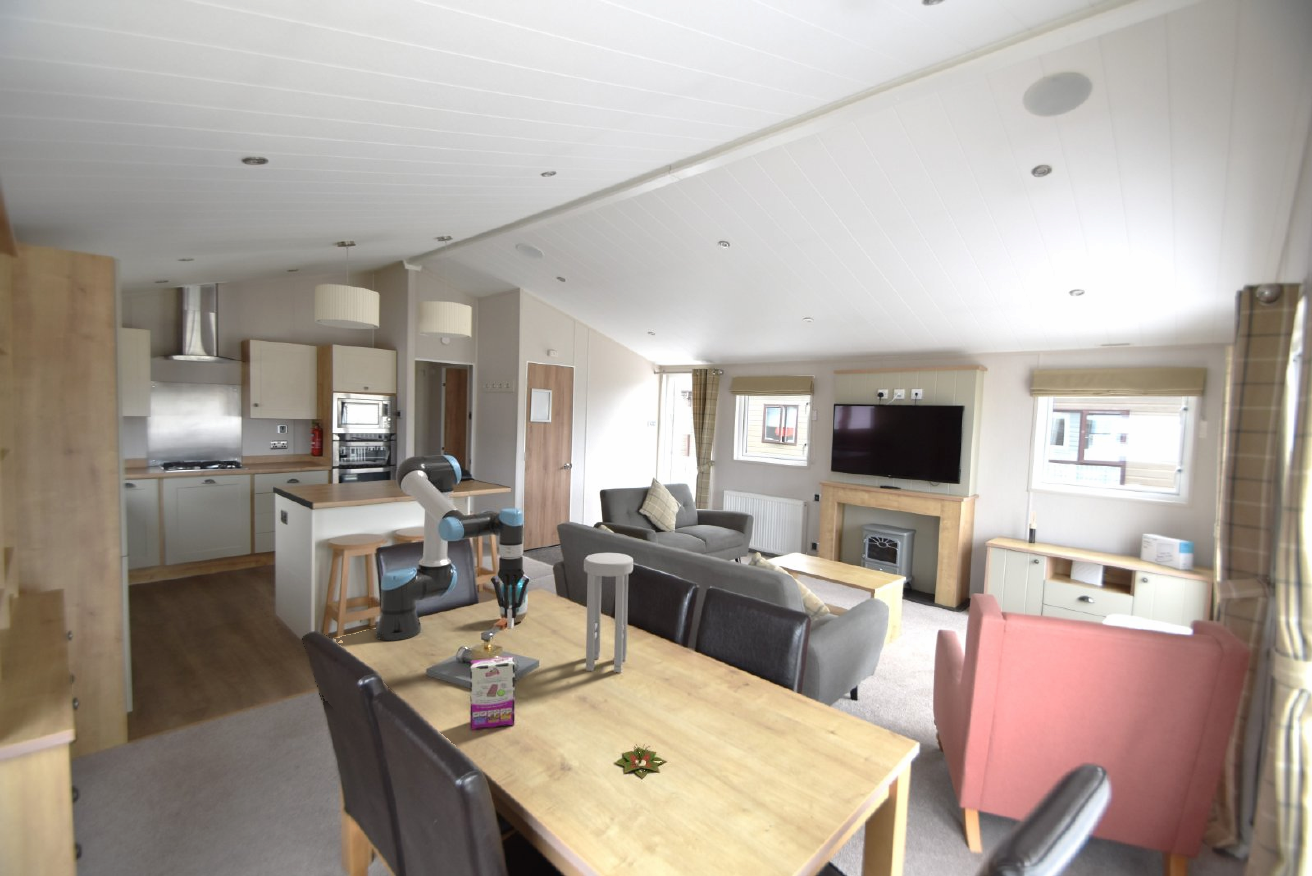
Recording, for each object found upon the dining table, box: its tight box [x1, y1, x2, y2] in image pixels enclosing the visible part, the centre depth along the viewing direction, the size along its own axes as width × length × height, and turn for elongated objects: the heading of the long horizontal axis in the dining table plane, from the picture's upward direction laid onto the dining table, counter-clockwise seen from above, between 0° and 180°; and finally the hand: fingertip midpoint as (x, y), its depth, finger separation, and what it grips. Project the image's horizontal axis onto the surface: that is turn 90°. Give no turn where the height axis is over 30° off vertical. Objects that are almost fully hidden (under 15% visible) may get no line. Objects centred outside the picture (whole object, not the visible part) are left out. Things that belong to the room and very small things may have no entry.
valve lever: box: [480, 618, 507, 642], centre depth 188 cm, size 4×16×2 cm, turn 169°
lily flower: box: [613, 743, 668, 779], centre depth 137 cm, size 12×12×5 cm
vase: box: [499, 578, 529, 624], centre depth 228 cm, size 11×11×19 cm
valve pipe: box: [455, 640, 519, 673], centre depth 183 cm, size 21×6×9 cm, turn 64°
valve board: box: [425, 644, 540, 689], centre depth 184 cm, size 26×22×2 cm
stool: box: [583, 552, 634, 674], centre depth 191 cm, size 16×16×35 cm
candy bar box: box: [469, 657, 516, 731], centre depth 153 cm, size 11×5×16 cm, turn 105°
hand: (510, 627), depth 193 cm, fingers closed
